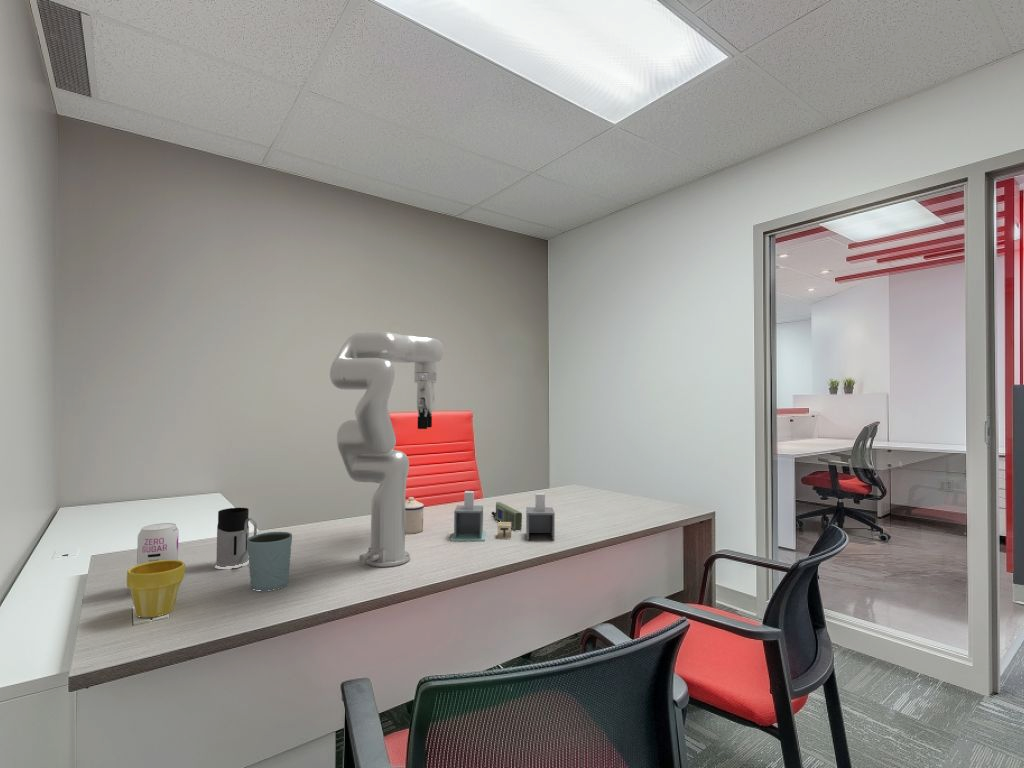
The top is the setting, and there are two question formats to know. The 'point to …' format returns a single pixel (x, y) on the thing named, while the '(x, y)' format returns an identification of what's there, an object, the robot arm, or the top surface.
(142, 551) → the supplement can
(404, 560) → the robot arm
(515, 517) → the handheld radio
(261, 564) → the teal cup
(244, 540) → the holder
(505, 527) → the letter cube
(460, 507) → the cover
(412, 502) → the teacup with lid
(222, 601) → the top surface
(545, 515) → the cover
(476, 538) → the mat
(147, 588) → the plant pot
